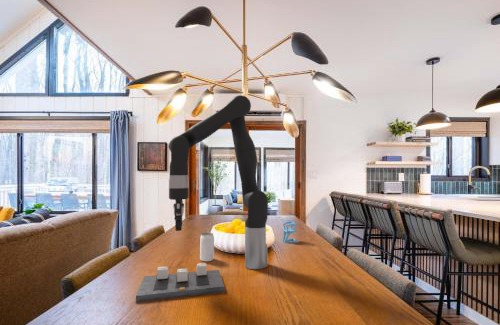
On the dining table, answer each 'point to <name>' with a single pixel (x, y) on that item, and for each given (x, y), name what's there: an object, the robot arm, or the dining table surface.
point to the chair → (289, 232)
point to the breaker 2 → (201, 269)
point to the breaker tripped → (182, 275)
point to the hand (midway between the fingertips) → (179, 228)
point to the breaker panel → (179, 286)
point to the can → (206, 247)
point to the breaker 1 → (162, 272)
